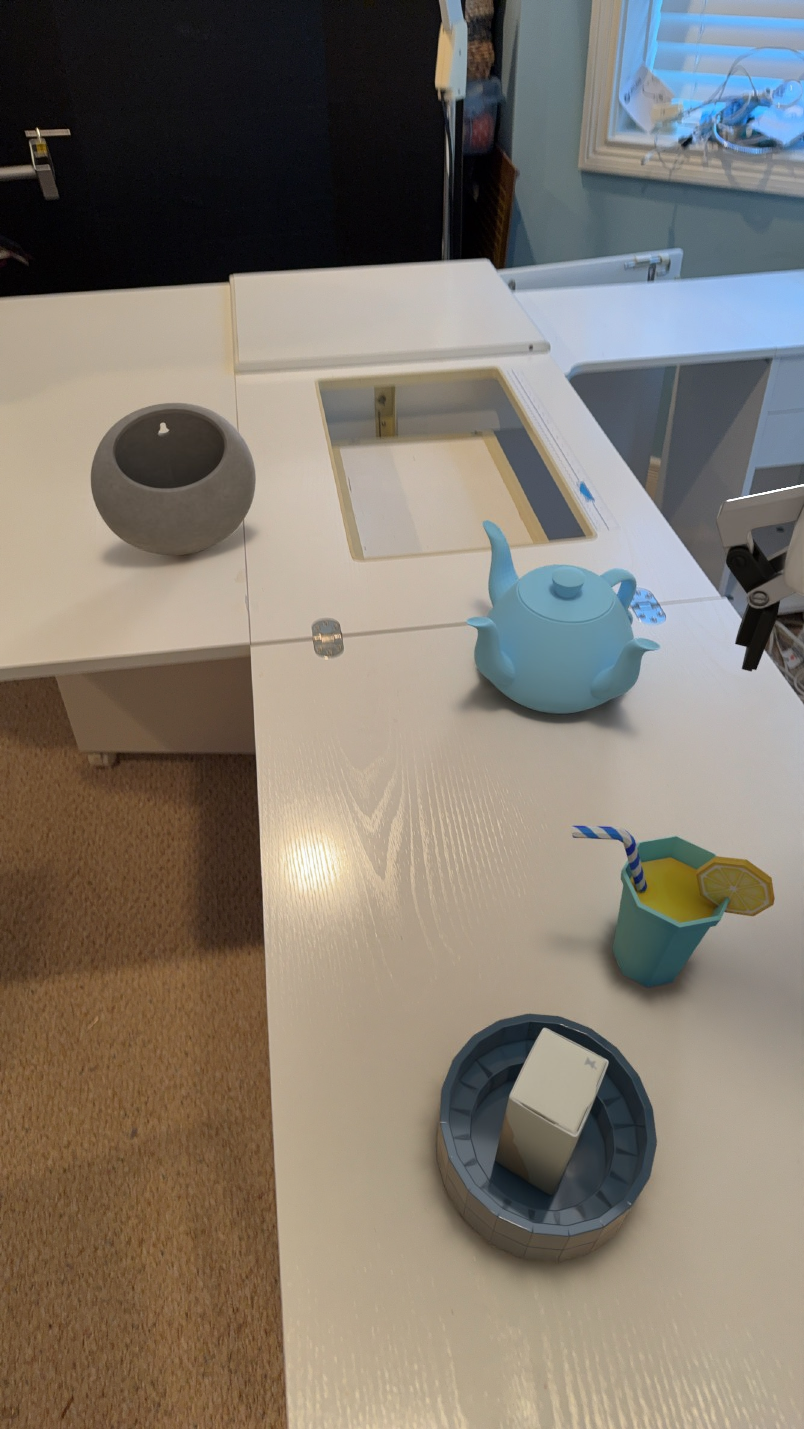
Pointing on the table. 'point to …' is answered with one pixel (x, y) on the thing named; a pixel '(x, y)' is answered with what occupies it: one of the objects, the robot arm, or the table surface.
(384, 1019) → the table surface
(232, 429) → the planter
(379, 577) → the table surface
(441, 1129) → the round ribbed tray
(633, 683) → the teapot
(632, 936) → the cup
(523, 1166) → the box
